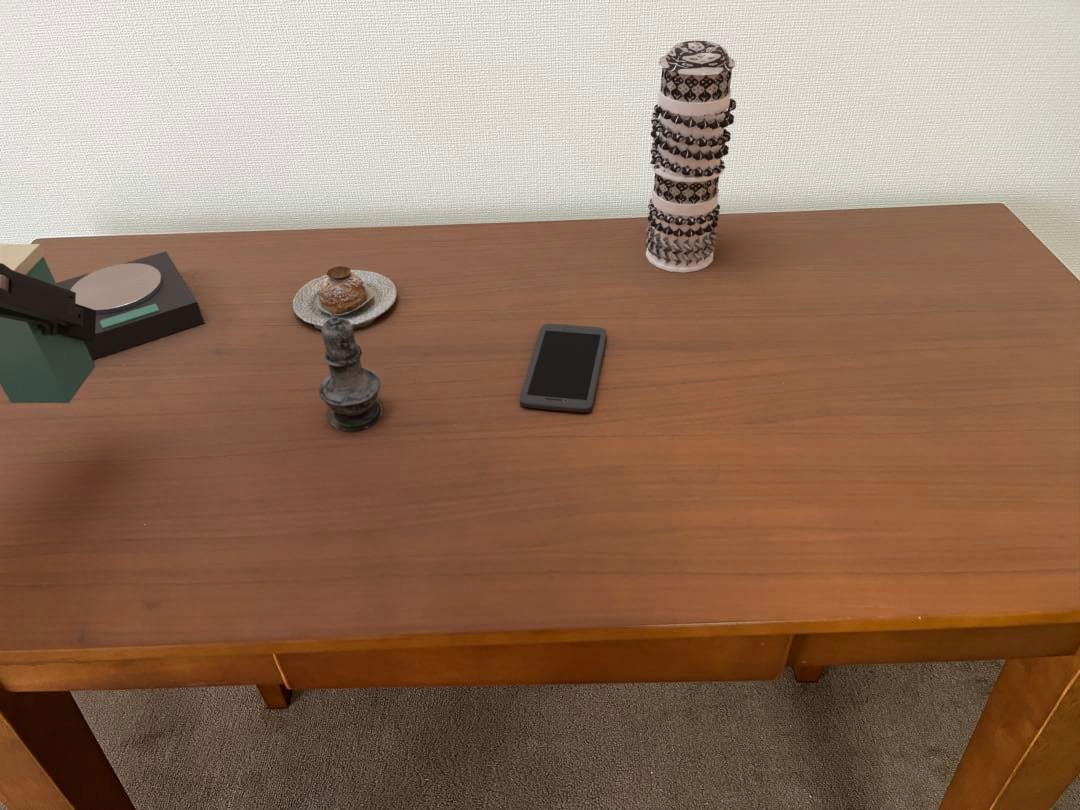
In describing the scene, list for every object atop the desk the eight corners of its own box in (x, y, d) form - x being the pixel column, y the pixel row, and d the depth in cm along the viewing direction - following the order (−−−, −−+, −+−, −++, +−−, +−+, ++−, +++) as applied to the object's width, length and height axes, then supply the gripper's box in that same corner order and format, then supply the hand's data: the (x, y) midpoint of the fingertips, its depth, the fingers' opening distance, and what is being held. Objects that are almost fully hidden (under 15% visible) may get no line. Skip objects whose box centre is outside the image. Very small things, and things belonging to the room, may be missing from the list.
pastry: (276, 303, 97) (267, 270, 94) (363, 267, 103) (357, 234, 100) (327, 347, 90) (318, 312, 87) (417, 305, 96) (412, 271, 93)
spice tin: (69, 404, 68) (4, 278, 60) (8, 403, 68) (-64, 278, 61) (97, 365, 72) (39, 243, 64) (39, 365, 72) (-25, 244, 65)
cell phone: (607, 332, 90) (607, 327, 90) (591, 414, 80) (591, 408, 79) (542, 327, 91) (541, 322, 91) (517, 407, 81) (517, 401, 81)
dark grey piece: (333, 440, 78) (306, 338, 71) (320, 404, 82) (294, 304, 75) (393, 423, 80) (373, 321, 72) (377, 388, 84) (357, 289, 76)
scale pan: (79, 324, 89) (76, 319, 89) (63, 284, 96) (61, 280, 96) (172, 295, 93) (170, 290, 93) (151, 258, 100) (149, 254, 100)
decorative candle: (722, 273, 99) (751, 60, 83) (646, 275, 100) (660, 62, 83) (711, 236, 106) (735, 33, 90) (639, 238, 107) (651, 35, 90)
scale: (75, 366, 89) (63, 342, 87) (54, 307, 98) (43, 284, 96) (204, 323, 94) (196, 299, 92) (173, 271, 103) (165, 249, 101)
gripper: (-345, 318, 48) (-45, 368, 71) (-45, 318, 47) (159, 369, 70) (-333, 193, 48) (-40, 283, 72) (-36, 191, 48) (163, 283, 71)
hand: (58, 325), depth 71 cm, fingers closed on spice tin, 5 cm apart
